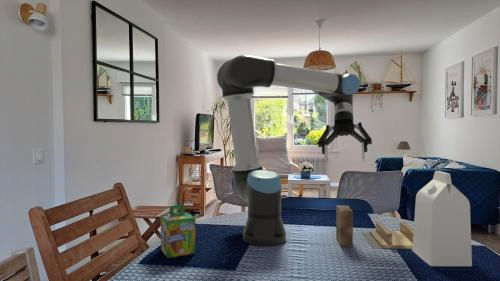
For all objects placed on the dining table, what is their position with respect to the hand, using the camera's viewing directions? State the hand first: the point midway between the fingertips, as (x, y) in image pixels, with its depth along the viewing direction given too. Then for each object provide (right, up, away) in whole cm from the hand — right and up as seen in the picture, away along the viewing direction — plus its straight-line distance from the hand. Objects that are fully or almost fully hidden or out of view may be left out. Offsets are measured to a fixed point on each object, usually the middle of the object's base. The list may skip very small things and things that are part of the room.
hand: (344, 159), depth 133 cm
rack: (+15, -27, -11) cm, 33 cm away
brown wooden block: (-3, -28, -13) cm, 31 cm away
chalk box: (-58, -28, -20) cm, 68 cm away
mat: (+15, -27, -11) cm, 33 cm away
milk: (+22, -28, -27) cm, 44 cm away
